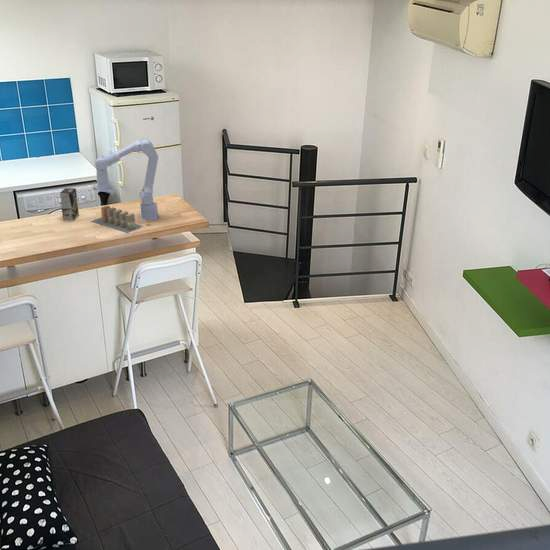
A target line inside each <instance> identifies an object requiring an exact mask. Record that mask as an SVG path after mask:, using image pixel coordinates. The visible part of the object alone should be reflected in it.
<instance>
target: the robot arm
mask: <svg viewBox="0 0 550 550" xmlns="http://www.w3.org/2000/svg"><path fill="white" fill-rule="evenodd" d="M134 152H136V153H143V154H144V155H146V156H147V158H148V160H147V166H146V173H145V176H144V177H145V178H144V183H143V186H142V189H141V191H140V193H139V197H140V198H141V199H140V202H139V204H140V218H139V220H140V221H158V218H159V210H158V202H154V197H153V194H154V193H153V188H154V181H155V177H156V171H157V167H158V160H159V154H158V153H157V151H156V148H155V146H154V144H153V142H152V141H150V140H149V138H145V137H143V138H141V139H137V140H136V141H134V142H132V143H130V144H129V145H127V146H126V147H124V148H122V149H120V150H119V151H115V150H113V151H112V150H111V151H109V153H108V154H106V155H102V156H101V157H98V158H96V160H95V162H94V164H95V168H96V182H97V183H96V184H97V185H93V186H92V190H93V191H96V192H97V195H98V197H99V199H100V201H101V204H102V205H103V206H108V204H109V203H108V202H109V198H110V196H112V195H113V196H114V195H115V192H116V191H115V190H113V189H112V188H110V184H109V183H110V182H109V173H108V167H111V166H112V165H114V164H116V163H119V162H120V160H121V158H124V157H126V156H128V155H129V154H131V153H134Z"/></svg>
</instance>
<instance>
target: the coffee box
mask: <svg viewBox="0 0 550 550" xmlns="http://www.w3.org/2000/svg"><path fill="white" fill-rule="evenodd" d="M59 197H60V205H61V207H60V208H61V213H62V220H63V221H71V222H73V221H76V220H77V218H78V217H79V216H80V214H79V213H80V211H79V204H78V195H77V188H74V187H73V188H71V187H70V188H66V187H64V189H63V190H61V192H60V193H59Z"/></svg>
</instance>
